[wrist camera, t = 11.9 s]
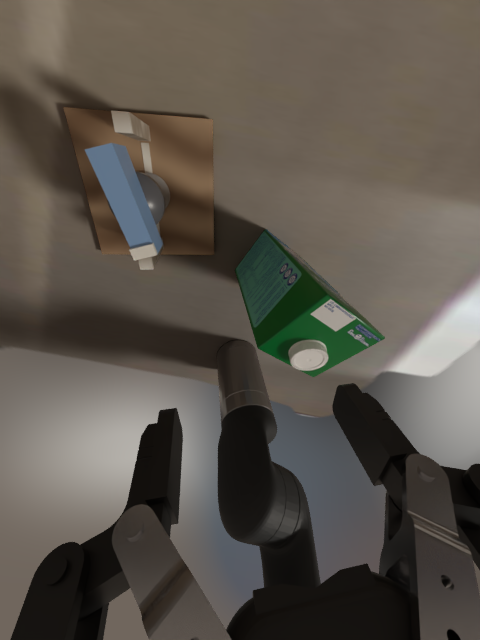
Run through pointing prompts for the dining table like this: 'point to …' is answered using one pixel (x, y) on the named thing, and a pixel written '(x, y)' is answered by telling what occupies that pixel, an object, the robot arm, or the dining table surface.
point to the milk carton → (298, 310)
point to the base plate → (153, 175)
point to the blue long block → (130, 198)
